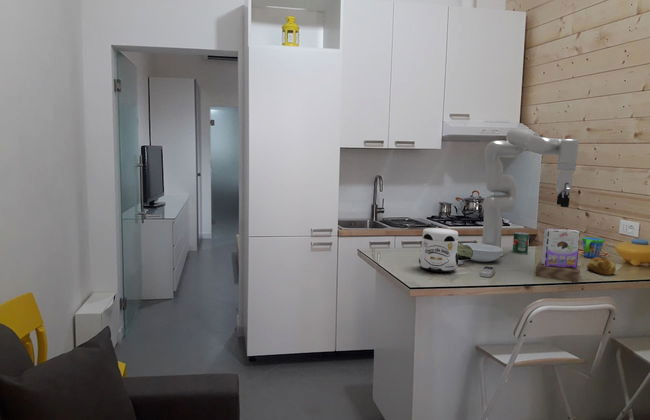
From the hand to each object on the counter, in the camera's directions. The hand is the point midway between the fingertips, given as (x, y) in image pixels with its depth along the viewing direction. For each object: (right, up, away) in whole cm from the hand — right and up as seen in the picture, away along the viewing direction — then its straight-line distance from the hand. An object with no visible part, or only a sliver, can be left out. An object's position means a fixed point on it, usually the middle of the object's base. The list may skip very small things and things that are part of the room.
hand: (562, 205), depth 227 cm
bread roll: (+23, -31, +12) cm, 41 cm away
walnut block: (-2, -32, +2) cm, 32 cm away
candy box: (-1, -27, +1) cm, 27 cm away
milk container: (-55, -29, +3) cm, 62 cm away
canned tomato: (+1, -26, +53) cm, 59 cm away
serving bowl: (-28, -27, +29) cm, 48 cm away
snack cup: (+38, -28, +49) cm, 68 cm away
